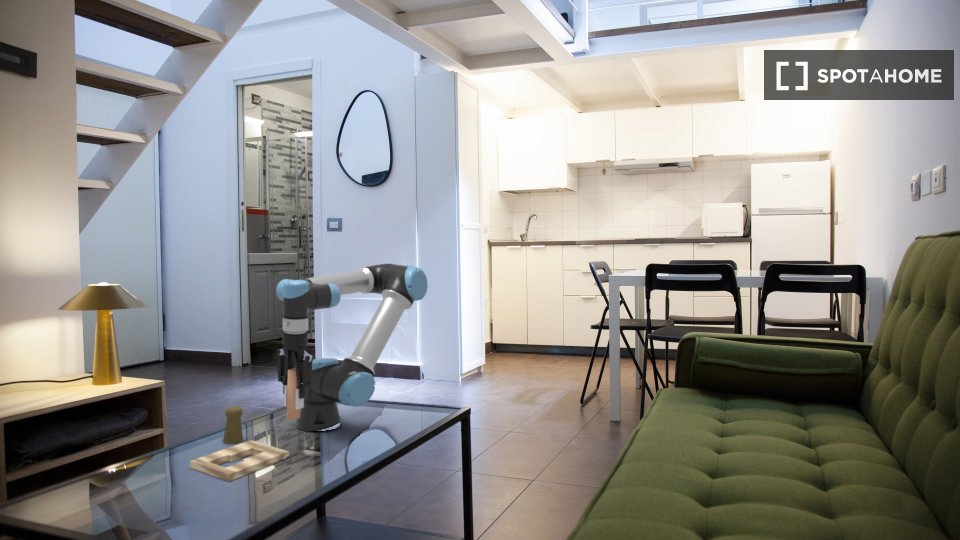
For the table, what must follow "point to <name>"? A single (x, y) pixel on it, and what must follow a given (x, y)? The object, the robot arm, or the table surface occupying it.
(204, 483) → the table surface
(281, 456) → the keyhole board
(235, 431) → the cork
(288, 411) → the peg
